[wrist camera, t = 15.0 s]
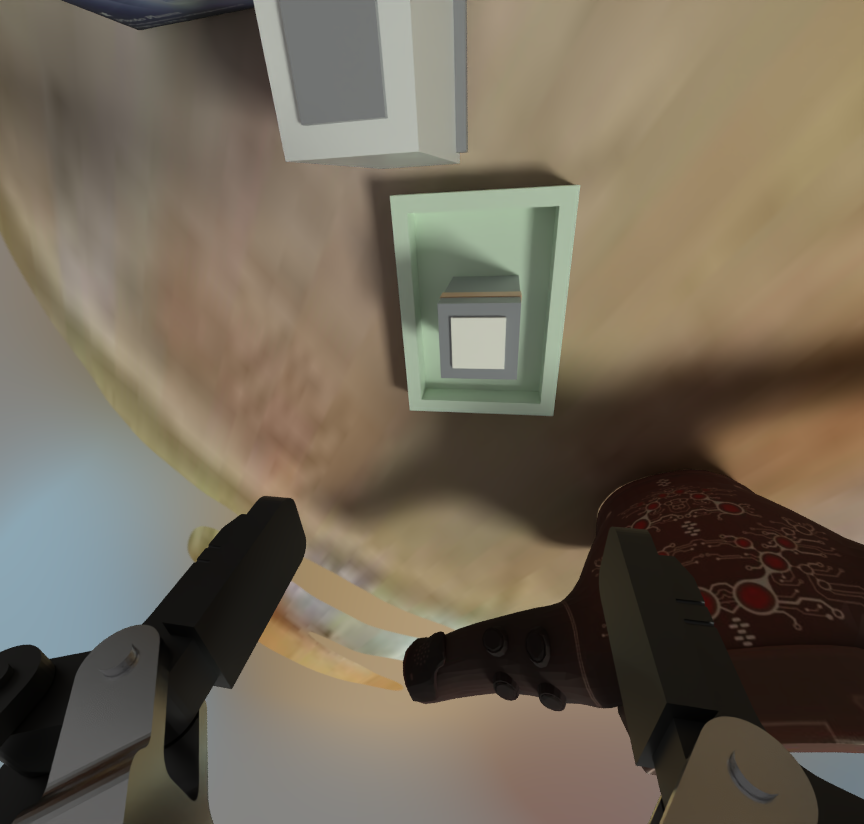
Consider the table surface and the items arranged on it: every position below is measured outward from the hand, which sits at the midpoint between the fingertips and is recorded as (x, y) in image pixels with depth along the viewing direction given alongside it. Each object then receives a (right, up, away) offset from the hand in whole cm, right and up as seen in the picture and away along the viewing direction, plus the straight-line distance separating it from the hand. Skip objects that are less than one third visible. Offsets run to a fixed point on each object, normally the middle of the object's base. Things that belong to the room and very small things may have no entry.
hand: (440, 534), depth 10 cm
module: (+4, +11, +18) cm, 21 cm away
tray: (+3, +11, +19) cm, 22 cm away
